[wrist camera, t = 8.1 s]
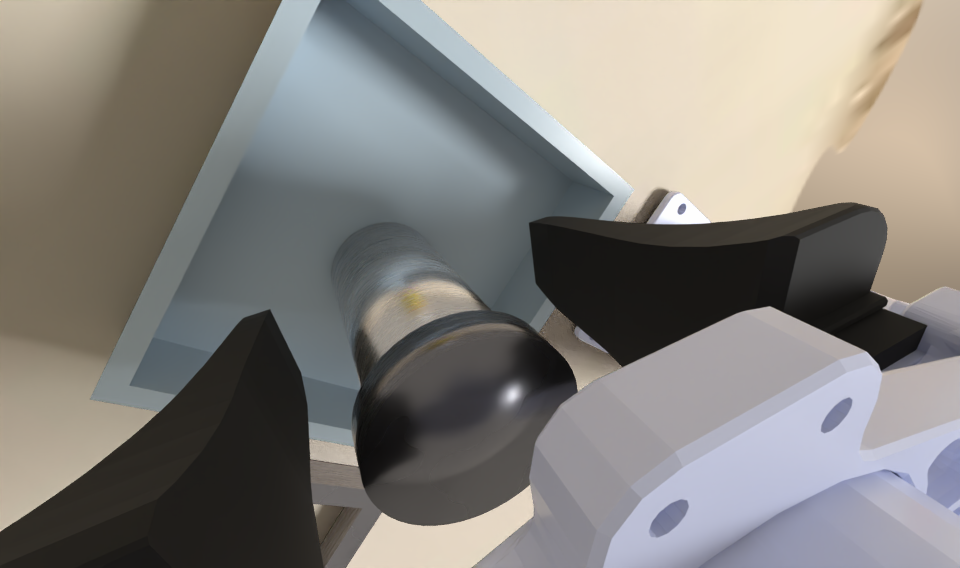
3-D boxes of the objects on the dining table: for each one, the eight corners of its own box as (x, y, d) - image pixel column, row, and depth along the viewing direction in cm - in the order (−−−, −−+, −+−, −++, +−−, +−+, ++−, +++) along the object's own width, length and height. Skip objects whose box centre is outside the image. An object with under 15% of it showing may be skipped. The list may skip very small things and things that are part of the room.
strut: (460, 224, 15) (609, 343, 8) (428, 332, 17) (535, 510, 10) (332, 197, 13) (393, 327, 6) (307, 323, 14) (337, 541, 8)
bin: (582, 172, 17) (634, 189, 15) (428, 413, 19) (451, 463, 17) (312, -51, 11) (323, -85, 9) (124, 337, 13) (89, 399, 10)
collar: (388, 471, 20) (394, 492, 19) (316, 583, 21) (318, 609, 20) (222, 446, 16) (219, 471, 15) (145, 585, 17) (137, 617, 16)
